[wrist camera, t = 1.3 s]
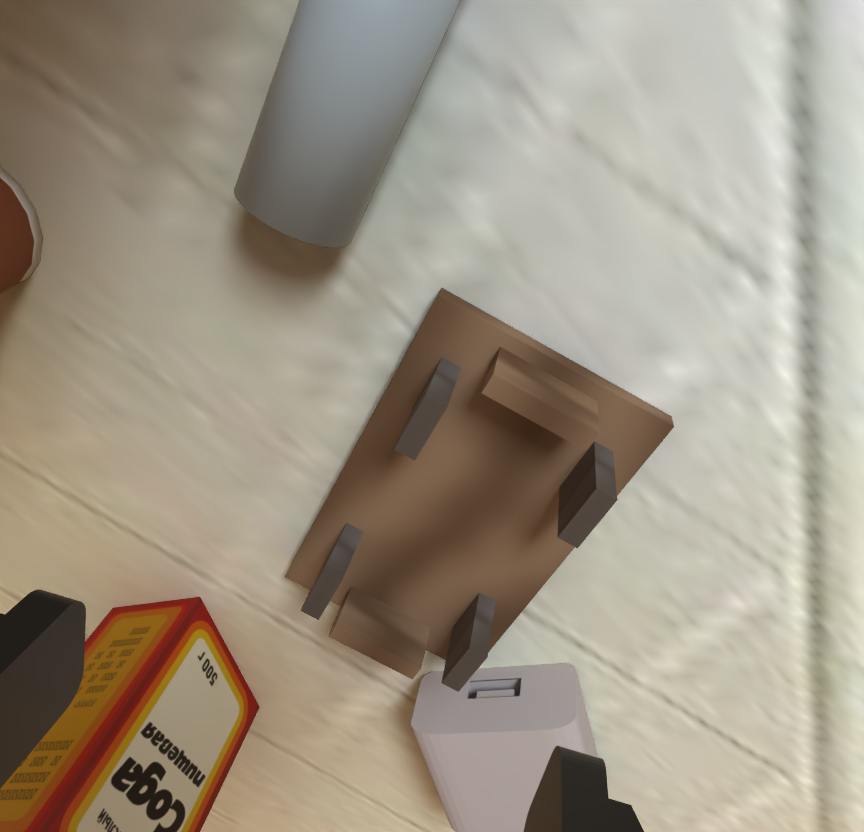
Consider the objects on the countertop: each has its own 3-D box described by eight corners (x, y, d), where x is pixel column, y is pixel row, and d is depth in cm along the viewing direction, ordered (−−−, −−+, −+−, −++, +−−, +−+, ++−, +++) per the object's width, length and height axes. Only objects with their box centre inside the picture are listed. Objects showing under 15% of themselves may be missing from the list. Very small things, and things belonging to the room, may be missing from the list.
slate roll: (359, 224, 32) (340, 261, 27) (254, 170, 31) (216, 200, 26) (519, -129, 25) (527, -153, 21) (390, -212, 24) (370, -254, 20)
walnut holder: (291, 565, 41) (256, 627, 37) (441, 287, 32) (420, 326, 27) (473, 659, 42) (461, 731, 37) (671, 416, 33) (685, 473, 28)
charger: (482, 828, 49) (423, 668, 43) (618, 827, 47) (576, 658, 41) (473, 899, 45) (407, 734, 39) (622, 904, 43) (575, 728, 37)
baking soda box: (259, 707, 47) (126, 985, 33) (176, 713, 49) (18, 978, 35) (199, 596, 44) (22, 858, 30) (113, 607, 45) (-94, 858, 31)
